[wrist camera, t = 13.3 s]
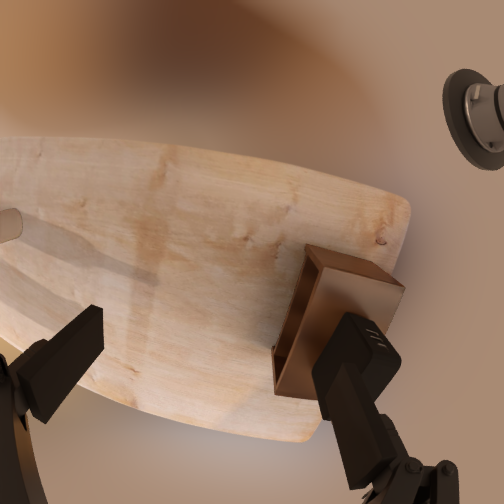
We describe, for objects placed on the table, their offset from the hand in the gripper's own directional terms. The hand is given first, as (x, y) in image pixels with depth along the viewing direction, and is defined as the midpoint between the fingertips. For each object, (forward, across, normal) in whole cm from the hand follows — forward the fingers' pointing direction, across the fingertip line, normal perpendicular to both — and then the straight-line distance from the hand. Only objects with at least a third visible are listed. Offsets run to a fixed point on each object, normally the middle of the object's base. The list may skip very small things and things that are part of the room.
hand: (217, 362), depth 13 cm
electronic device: (+18, +15, -8) cm, 25 cm away
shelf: (+30, +15, -8) cm, 35 cm away
